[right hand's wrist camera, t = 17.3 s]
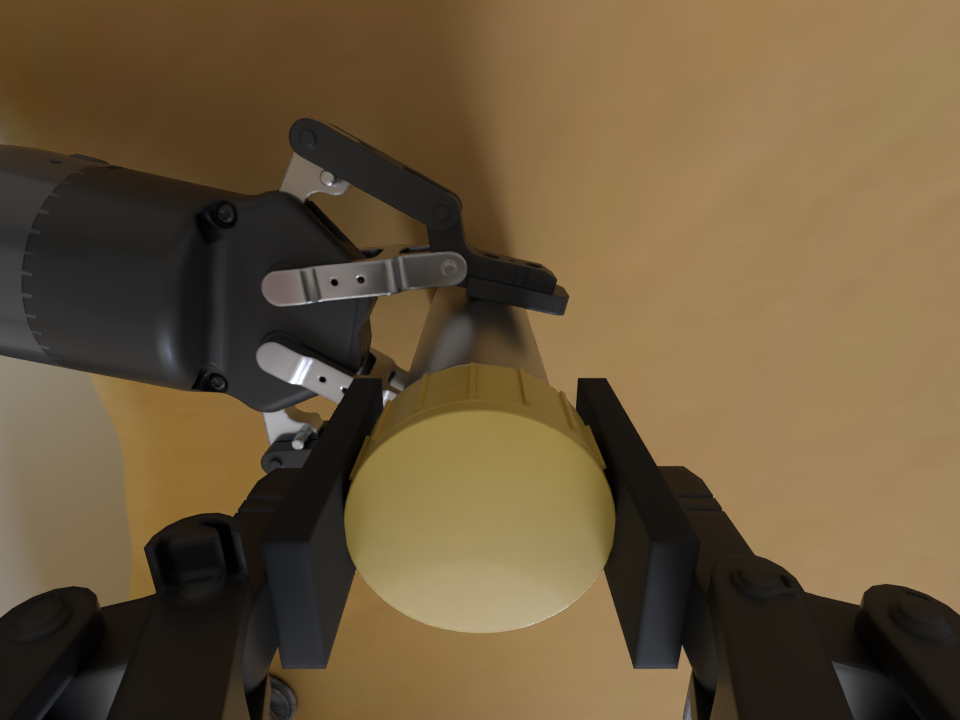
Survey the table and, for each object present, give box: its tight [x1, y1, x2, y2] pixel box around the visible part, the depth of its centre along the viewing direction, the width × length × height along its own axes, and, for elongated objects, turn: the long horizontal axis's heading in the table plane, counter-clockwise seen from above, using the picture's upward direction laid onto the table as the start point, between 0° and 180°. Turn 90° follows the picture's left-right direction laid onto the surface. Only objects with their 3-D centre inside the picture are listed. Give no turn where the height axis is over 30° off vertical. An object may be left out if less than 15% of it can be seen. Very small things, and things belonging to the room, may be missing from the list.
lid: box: [344, 362, 616, 633], centre depth 11 cm, size 6×6×2 cm
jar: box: [403, 286, 549, 390], centre depth 19 cm, size 4×4×16 cm
